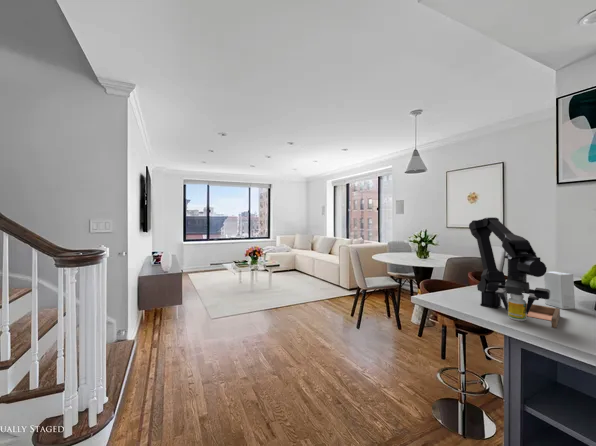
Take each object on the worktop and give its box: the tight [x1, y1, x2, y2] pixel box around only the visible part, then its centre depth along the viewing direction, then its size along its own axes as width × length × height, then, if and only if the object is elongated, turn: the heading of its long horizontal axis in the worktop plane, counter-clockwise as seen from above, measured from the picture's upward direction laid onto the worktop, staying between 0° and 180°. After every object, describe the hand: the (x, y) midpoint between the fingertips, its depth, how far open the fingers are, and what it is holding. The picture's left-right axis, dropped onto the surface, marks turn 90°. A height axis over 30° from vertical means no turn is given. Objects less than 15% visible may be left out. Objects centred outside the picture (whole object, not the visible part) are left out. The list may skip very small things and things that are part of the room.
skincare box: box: [543, 270, 576, 310], centre depth 121 cm, size 8×6×15 cm
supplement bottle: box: [507, 293, 527, 322], centre depth 106 cm, size 5×5×10 cm
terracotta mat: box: [526, 311, 553, 322], centre depth 109 cm, size 8×8×1 cm
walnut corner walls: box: [526, 302, 561, 329], centre depth 107 cm, size 13×17×3 cm
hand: (516, 312), depth 106 cm, fingers open, 6 cm apart
